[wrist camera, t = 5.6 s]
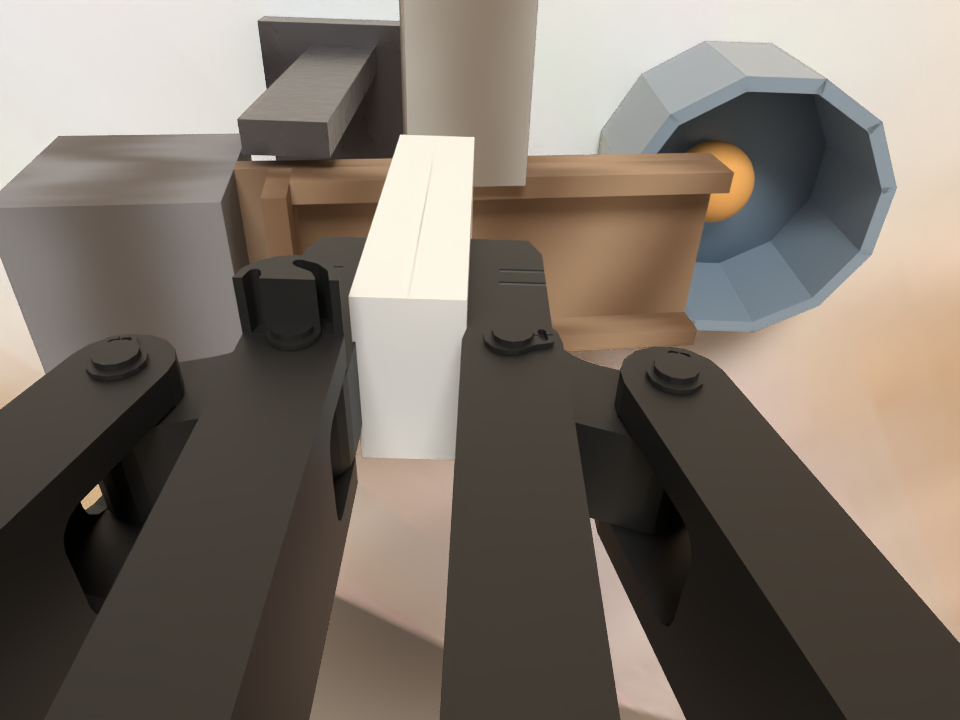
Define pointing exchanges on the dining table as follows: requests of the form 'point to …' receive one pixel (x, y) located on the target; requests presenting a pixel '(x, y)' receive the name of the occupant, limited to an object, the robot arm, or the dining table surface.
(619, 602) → the dining table surface
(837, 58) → the dining table surface
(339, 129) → the lever stand
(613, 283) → the lever
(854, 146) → the cup
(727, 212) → the ball
